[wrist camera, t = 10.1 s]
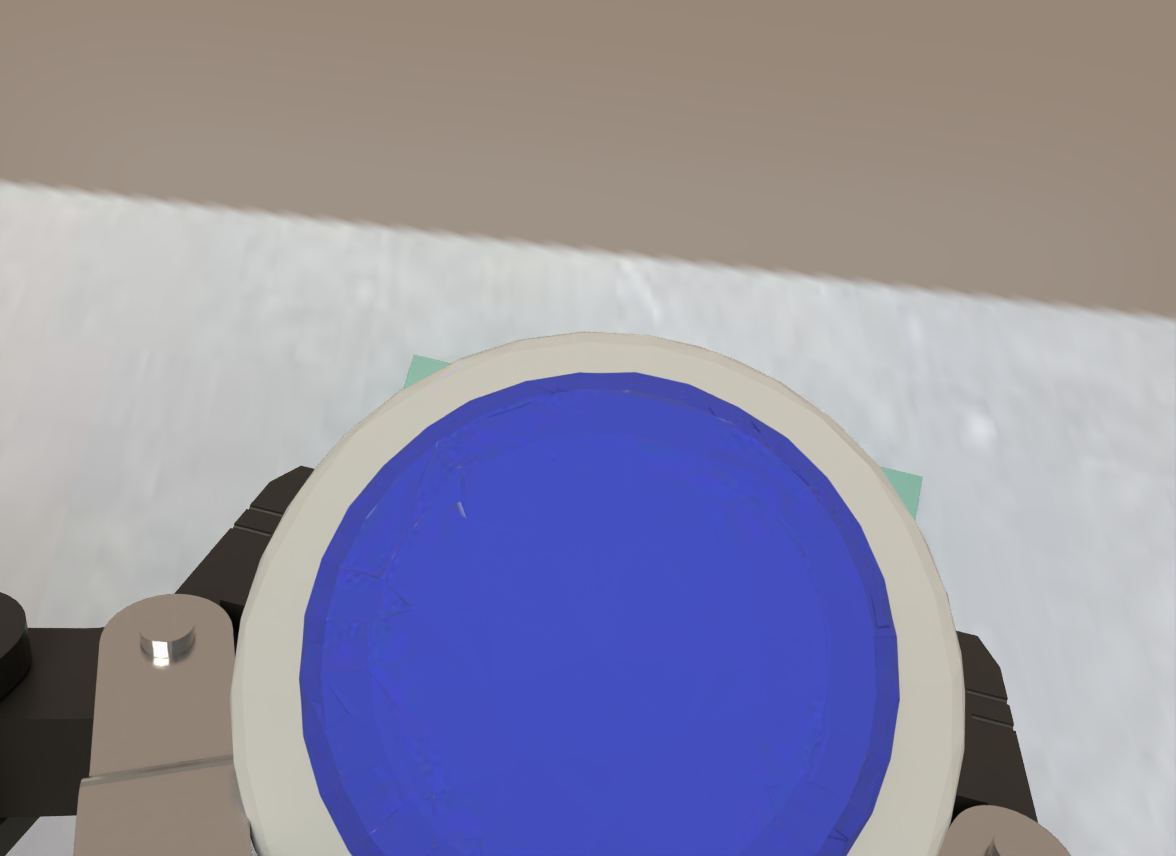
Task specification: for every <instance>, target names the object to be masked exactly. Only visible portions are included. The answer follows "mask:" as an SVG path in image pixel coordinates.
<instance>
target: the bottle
mask: <svg viewBox="0 0 1176 856" xmlns="http://www.w3.org/2000/svg"><path fill="white" fill-rule="evenodd" d="M230 708H231V725H232V742H233V759H234V766H235V771H236V776H237V780H238V785H239V790H240V794H241V799H242V803H243V806H244V809H245V812H246V816H247V817H248V818H249V826H250V838H251V840H252V843H253V846H254V848H255V850H256V853H257V855H258V856H938V854H939V851H940V848H941V846H942V843H943V841H944V838H945V835H946V833H947V830H948V828H949V825H950V822H951V818H952V812H953V807H954V802H955V797H956V791H957V786H958V781H959V775H960V770H961V765H962V760H963V754H964V737H965V687H964V676H963V666H962V655H961V650H960V646H959V642H958V638H957V633H956V629H955V625H954V621H953V617H952V613H951V609H950V605H949V601H948V597H947V593H946V591H945V588H944V585H943V583H942V580H941V578H940V575H939V572H938V570H937V567H936V565H935V562H934V560H933V557H932V554H931V552H930V549H929V547H928V544H927V542H926V540H925V539H924V537H923V535H922V533H921V531H920V529H919V527H918V525H917V523H916V522H915V520H914V519H913V517H912V516H911V514H910V512H909V511H908V509H907V508H906V506H905V505H904V503H903V502H902V500H901V499H900V497H899V495H898V494H897V492H896V491H895V489H894V488H893V486H892V485H891V483H890V482H889V480H888V478H887V477H886V475H885V474H884V472H883V471H882V469H881V468H880V466H879V465H878V464H877V463H876V462H875V461H874V460H873V459H872V458H871V457H870V456H869V455H868V454H867V453H866V452H865V451H864V450H863V449H862V448H861V447H860V446H859V445H858V444H857V443H856V442H855V441H854V440H853V439H852V438H851V437H850V436H849V435H848V434H847V433H846V432H845V431H844V430H843V429H842V428H841V427H840V426H839V425H838V424H837V423H836V422H835V421H834V420H833V419H831V418H830V417H829V416H828V415H826V414H825V413H823V412H822V411H821V410H819V409H818V408H816V407H815V406H814V405H812V404H811V403H809V402H808V401H807V400H805V399H804V398H802V397H801V396H800V395H798V394H797V393H795V392H794V391H792V390H791V389H790V388H788V387H787V386H785V385H784V384H783V383H781V382H779V381H777V380H775V379H773V378H771V377H769V376H767V375H765V374H763V373H761V372H759V371H757V370H755V369H753V368H751V367H749V366H747V365H745V364H743V363H741V362H739V361H737V360H734V359H732V358H729V357H726V356H723V355H721V354H718V353H715V352H713V351H710V350H707V349H705V348H702V347H699V346H694V345H690V344H685V343H681V342H676V341H672V340H667V339H663V338H658V337H654V336H649V335H634V334H616V333H597V332H577V333H570V334H562V335H554V336H547V337H539V338H531V339H523V340H518V341H515V342H511V343H508V344H505V345H502V346H499V347H495V348H492V349H489V350H486V351H483V352H480V353H476V354H473V355H470V356H467V357H464V358H461V359H459V360H457V361H455V362H453V363H451V364H450V365H448V366H446V367H444V368H442V369H440V370H438V371H436V372H434V373H433V374H431V375H429V376H427V377H425V378H423V379H421V380H419V381H417V382H416V383H414V384H412V385H410V386H408V387H406V388H404V389H402V390H400V391H399V392H398V393H396V394H395V395H394V396H393V397H391V398H390V399H389V400H388V401H386V402H385V403H384V404H383V405H381V406H380V407H379V408H378V409H376V410H375V411H374V412H373V413H371V414H370V415H369V416H368V417H366V418H365V419H364V420H363V421H361V422H360V423H359V424H358V425H356V426H355V427H354V428H353V429H351V430H350V431H349V432H348V433H346V434H345V435H344V436H343V437H342V439H341V440H340V441H339V442H338V443H337V444H336V445H335V446H334V448H333V449H332V450H331V451H330V452H329V453H328V454H327V455H326V457H325V458H324V459H323V460H322V461H321V462H320V463H319V464H318V466H317V467H316V468H315V469H314V471H313V472H312V474H311V475H310V477H309V478H308V479H307V481H306V482H305V484H304V485H303V486H302V488H301V489H300V491H299V492H298V493H297V495H296V496H295V498H294V499H293V500H292V502H291V503H290V505H289V506H288V507H287V509H286V511H285V513H284V515H283V517H282V519H281V521H280V523H279V524H278V526H277V528H276V530H275V532H274V534H273V536H272V538H271V540H270V542H269V544H268V546H267V548H266V549H265V551H264V553H263V555H262V557H261V559H260V562H259V565H258V568H257V571H256V574H255V577H254V580H253V583H252V586H251V589H250V593H249V596H248V599H247V602H246V605H245V608H244V611H243V614H242V617H241V621H240V628H239V635H238V642H237V649H236V656H235V663H234V670H233V677H232V684H231V691H230Z"/></svg>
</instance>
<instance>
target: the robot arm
mask: <svg viewBox="0 0 1176 856" xmlns="http://www.w3.org/2000/svg"><path fill="white" fill-rule="evenodd" d="M313 471H314V469H312V468H308V467H304V466H300V467H298V468H296V469H294V470H292V471H290V472H288V473H286V474H284V475H282V476H280V477H279V478H277V479H275V480H273V481H271V482H269V484H268V485H267V486H266V487H265V488H264V489H263V491H262V492H261V493H260V494H259V495H258V496H257V498H256V499H255V500H254V501H253V502H252V503H251V505H250V509H249V510H247V509H246V511H245V512H244V513H243V514H242V515H241V516H240V518H239V519H238V520H237V521H236V522H235V523H234V527H233V529H232V528H230V529H229V530H228V532H227V533H226V534H225V535H224V536H223V537H222V539H221V540H220V541H219V542H218V543H217V544H216V546H215V547H214V548H213V549H212V550H211V551H210V553H209V554H208V555H207V556H206V557H205V558H204V560H203V561H202V562H201V563H200V564H199V565H198V567H197V568H196V569H195V570H194V571H193V573H192V574H191V575H190V576H189V577H188V578H187V580H186V581H185V582H184V583H183V584H182V585H181V587H180V588H179V589H178V590H177V591H176V592H175V594H167V595H160V596H154V597H151V598H147V599H144V600H141V601H138V602H136V603H134V604H132V605H130V606H128V607H126V608H124V609H123V610H122V611H120V612H119V613H117V614H116V615H115V616H114V617H113V618H112V619H111V620H110V621H109V622H108V624H107V625H106V626H105V627H102V628H27V622H26V616H25V612H24V610H23V608H22V606H21V605H20V604H19V603H18V602H17V601H16V600H15V599H13V598H12V597H10V596H8V595H6V594H3V593H1V592H0V856H5V855H6V854H7V853H8V852H9V851H10V850H11V848H12V847H13V846H14V845H15V844H16V843H17V842H18V841H19V839H20V838H21V837H22V836H23V835H24V834H25V833H26V832H27V830H28V829H29V828H30V827H31V826H32V825H33V824H34V823H35V821H36V820H37V819H38V818H39V817H40V816H72V815H77V819H76V831H75V843H74V854H73V856H252V853H251V839H250V826H249V818H248V817H247V816H246V812H245V809H244V806H243V803H242V799H241V794H240V790H239V785H238V780H237V776H236V771H235V766H234V759H233V742H232V725H231V708H230V691H231V684H232V677H233V670H234V663H235V656H236V649H237V642H238V635H239V628H240V621H241V617H242V614H243V611H244V608H245V605H246V602H247V599H248V596H249V593H250V589H251V586H252V583H253V580H254V577H255V574H256V571H257V568H258V565H259V562H260V559H261V557H262V555H263V553H264V551H265V549H266V548H267V546H268V544H269V542H270V540H271V538H272V536H273V534H274V532H275V530H276V528H277V526H278V524H279V523H280V521H281V519H282V517H283V515H284V513H285V511H286V509H287V507H288V506H289V505H290V503H291V502H292V500H293V499H294V498H295V496H296V495H297V493H298V492H299V491H300V489H301V488H302V486H303V485H304V484H305V482H306V481H307V479H308V478H309V477H310V475H311V474H312V472H313ZM947 597H948V595H947ZM948 601H949V600H948ZM956 633H957V638H958V642H959V646H960V650H961V655H962V666H963V676H964V687H965V737H964V754H963V760H962V765H961V770H960V775H959V781H958V786H957V791H956V797H955V802H954V807H953V812H952V818H951V822H950V825H949V828H948V830H947V833H946V835H945V838H944V841H943V843H942V846H941V848H940V851H939V854H938V856H1071V855H1070V854H1069V852H1068V851H1067V849H1066V848H1065V847H1064V846H1063V845H1062V844H1061V843H1060V841H1059V840H1058V839H1057V838H1056V837H1055V836H1053V835H1052V834H1051V833H1050V832H1049V831H1048V830H1047V829H1045V828H1044V827H1042V826H1041V825H1040V824H1038V821H1037V817H1036V813H1035V808H1034V804H1033V800H1032V796H1031V792H1030V788H1029V784H1028V780H1027V776H1026V772H1025V768H1024V763H1023V759H1022V755H1021V751H1020V747H1019V743H1018V739H1017V735H1016V731H1014V730H1013V726H1014V723H1013V718H1012V714H1011V710H1010V706H1009V705H1007V699H1008V698H1007V694H1006V690H1005V686H1004V682H1003V678H1002V673H1001V669H1000V667H999V665H998V664H997V663H996V661H995V660H994V658H993V657H992V656H991V654H990V653H989V651H988V650H987V649H986V647H985V646H984V644H983V643H982V642H981V640H980V639H979V638H978V636H975V635H971V634H967V633H963V632H959V631H956Z"/></svg>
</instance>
